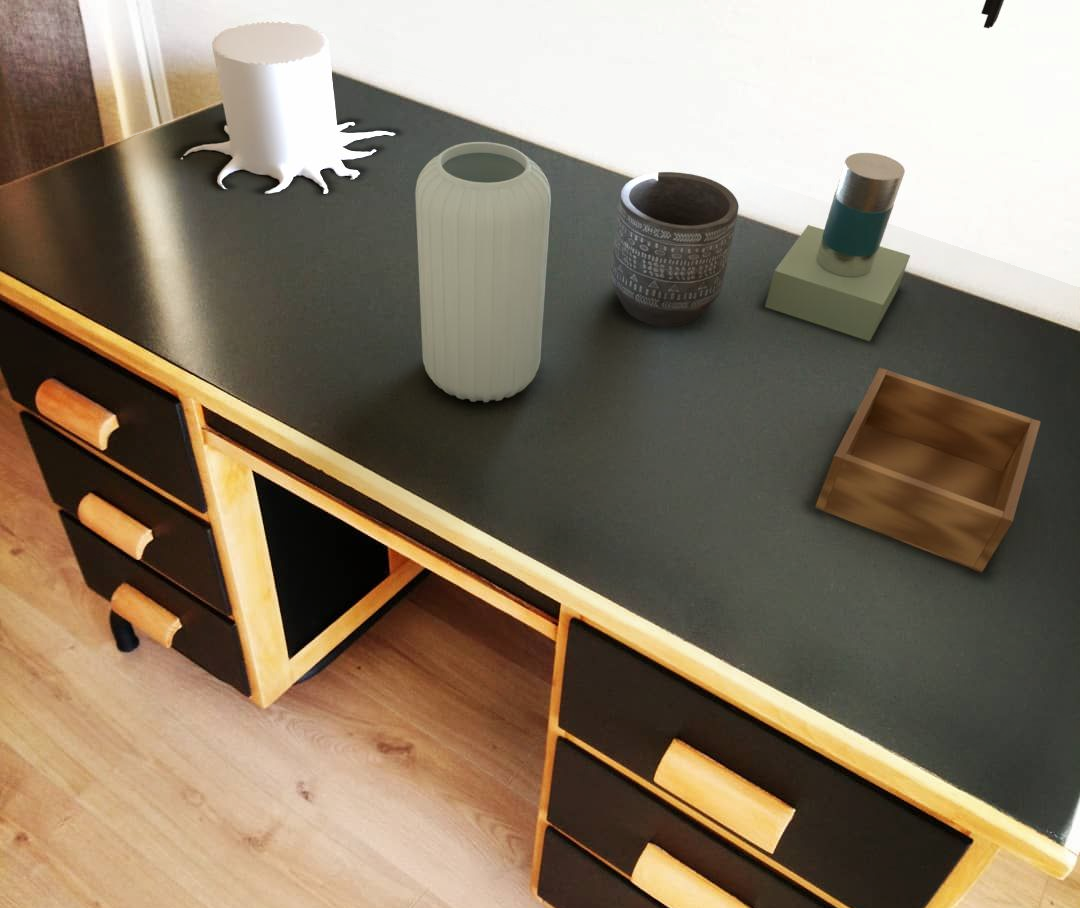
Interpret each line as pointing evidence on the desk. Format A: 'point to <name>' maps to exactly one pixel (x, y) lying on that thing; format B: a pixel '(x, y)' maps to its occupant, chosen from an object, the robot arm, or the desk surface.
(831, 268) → the tea tin
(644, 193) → the planter
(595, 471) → the desk surface
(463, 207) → the vase
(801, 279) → the stand
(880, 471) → the wooden box
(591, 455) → the desk surface
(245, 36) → the white tree stump model
